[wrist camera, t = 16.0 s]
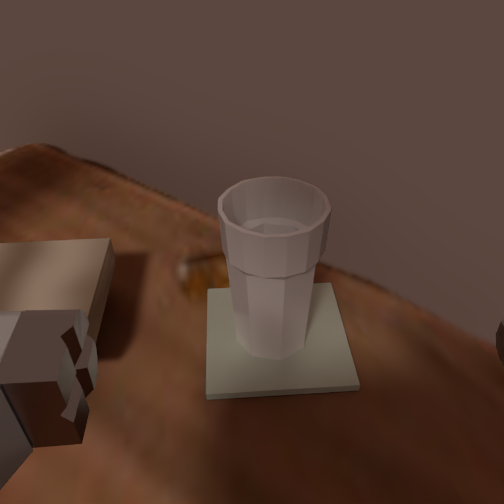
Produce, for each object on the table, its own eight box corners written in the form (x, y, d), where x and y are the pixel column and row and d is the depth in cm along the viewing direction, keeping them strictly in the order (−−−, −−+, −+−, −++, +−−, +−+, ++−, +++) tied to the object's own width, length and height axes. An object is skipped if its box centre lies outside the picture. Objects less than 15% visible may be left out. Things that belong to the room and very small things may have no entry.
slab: (-126, 420, 31) (-173, 365, 27) (-46, 291, 40) (-74, 239, 37) (97, 406, 31) (77, 351, 28) (125, 282, 41) (112, 230, 37)
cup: (258, 289, 39) (257, 166, 32) (333, 322, 36) (349, 194, 29) (208, 342, 34) (193, 213, 28) (288, 384, 32) (294, 252, 25)
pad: (206, 399, 31) (205, 394, 31) (208, 294, 39) (207, 289, 39) (358, 390, 32) (360, 384, 31) (330, 287, 40) (331, 282, 39)
